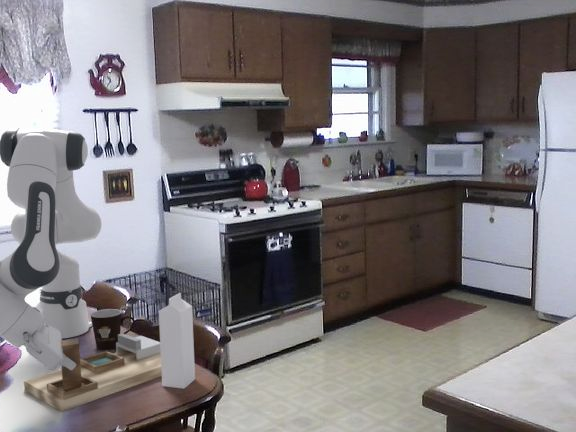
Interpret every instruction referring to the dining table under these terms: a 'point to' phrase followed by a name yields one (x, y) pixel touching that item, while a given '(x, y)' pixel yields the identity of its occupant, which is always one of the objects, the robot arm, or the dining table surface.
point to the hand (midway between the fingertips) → (73, 362)
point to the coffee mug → (107, 327)
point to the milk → (177, 343)
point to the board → (95, 378)
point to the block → (74, 376)
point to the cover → (138, 345)
